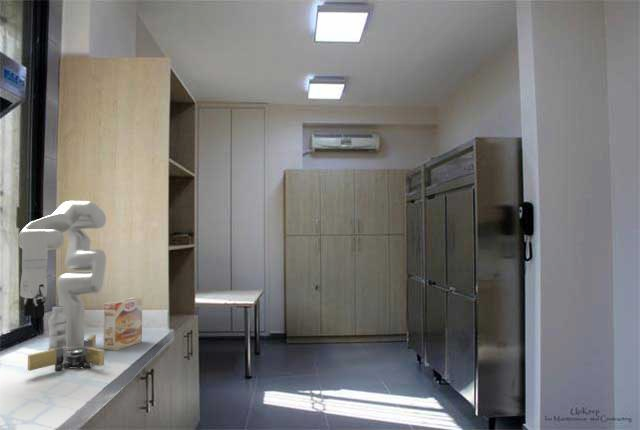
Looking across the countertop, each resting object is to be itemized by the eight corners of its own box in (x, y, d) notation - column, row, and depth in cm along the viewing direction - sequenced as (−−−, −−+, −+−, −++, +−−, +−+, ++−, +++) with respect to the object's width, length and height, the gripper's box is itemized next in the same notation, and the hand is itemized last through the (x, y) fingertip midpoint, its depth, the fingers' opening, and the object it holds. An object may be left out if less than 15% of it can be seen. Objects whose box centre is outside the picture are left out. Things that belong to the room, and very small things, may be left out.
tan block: (80, 368, 153) (81, 347, 154) (88, 366, 156) (88, 345, 156) (97, 373, 147) (97, 351, 148) (105, 371, 150) (105, 349, 150)
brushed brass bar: (60, 368, 154) (60, 347, 154) (64, 369, 152) (64, 348, 153) (26, 377, 145) (27, 354, 145) (30, 378, 143) (30, 355, 143)
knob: (91, 360, 163) (91, 340, 163) (82, 361, 162) (83, 341, 162) (97, 353, 173) (97, 334, 174) (89, 353, 172) (89, 334, 173)
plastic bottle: (71, 357, 168) (72, 305, 169) (55, 362, 162) (56, 308, 162) (59, 355, 170) (59, 304, 171) (43, 360, 164) (43, 307, 165)
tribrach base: (56, 368, 154) (57, 353, 154) (81, 360, 163) (81, 346, 164) (74, 371, 151) (74, 356, 151) (98, 363, 160) (98, 348, 160)
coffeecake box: (115, 350, 176) (115, 303, 177) (102, 349, 179) (102, 302, 180) (142, 342, 190) (143, 297, 191) (130, 340, 193) (130, 297, 194)
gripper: (11, 264, 153) (11, 315, 152) (34, 266, 143) (33, 320, 142) (35, 263, 159) (34, 312, 158) (58, 264, 150) (57, 316, 149)
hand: (34, 315), depth 150 cm, fingers open, 6 cm apart
